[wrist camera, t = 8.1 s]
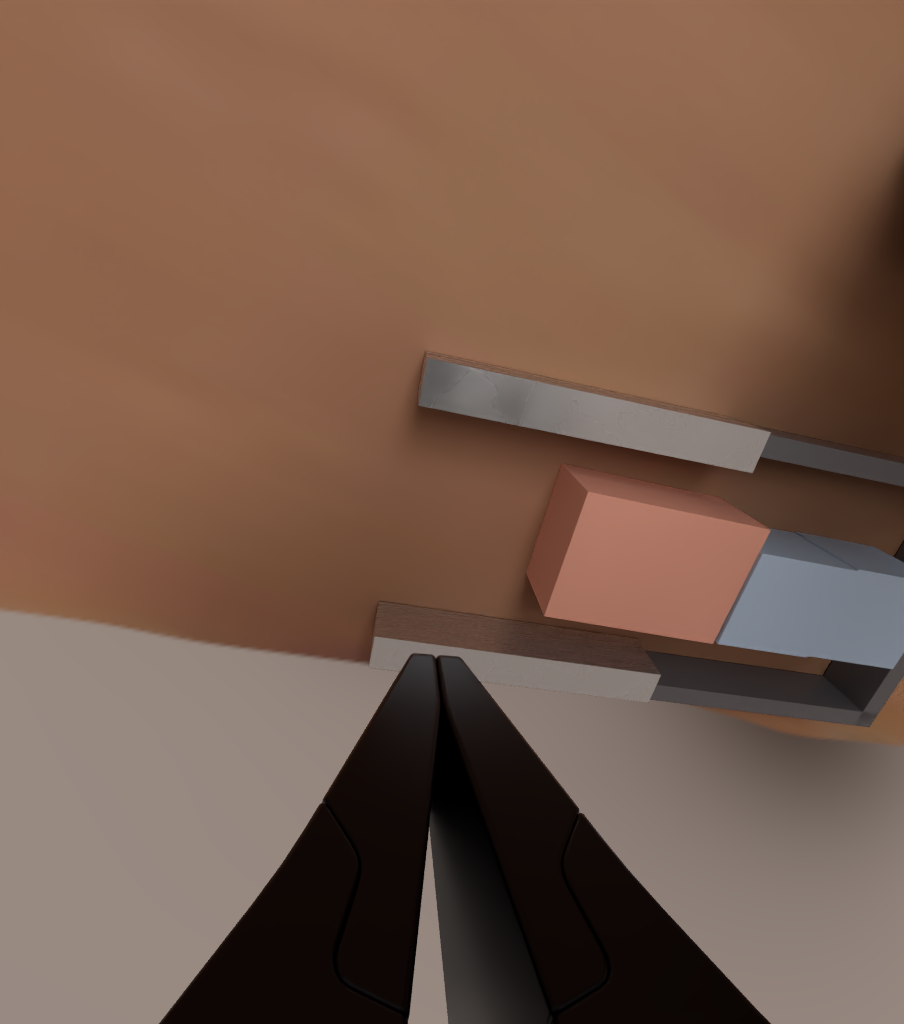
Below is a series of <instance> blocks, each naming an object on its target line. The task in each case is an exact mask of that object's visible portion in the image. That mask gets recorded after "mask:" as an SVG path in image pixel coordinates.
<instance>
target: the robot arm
mask: <svg viewBox="0 0 904 1024" xmlns="http://www.w3.org/2000/svg"><path fill="white" fill-rule="evenodd" d="M429 827H430V837H431V846H432V858H433V868H434V878H435V888H436V899H437V909H438V920H439V930H440V939H441V950H442V961H443V971H444V982H445V992H446V1002H447V1013H448V1023H449V1024H771V1023H770V1022H769V1021H768V1020H767V1019H766V1018H765V1017H764V1016H763V1015H762V1014H761V1013H760V1012H759V1011H758V1010H757V1009H756V1008H755V1007H754V1006H753V1005H752V1004H751V1003H750V1002H749V1000H747V998H746V997H745V996H744V995H743V994H742V993H741V992H740V991H739V990H738V989H737V988H736V987H735V986H734V984H733V983H732V982H731V981H730V980H729V979H728V978H727V977H726V976H725V975H724V974H723V973H722V971H721V970H720V969H719V968H718V967H717V966H716V965H715V964H714V963H713V962H712V961H711V960H710V959H709V958H708V956H707V955H706V954H705V953H704V952H703V951H702V950H701V949H700V948H699V947H698V946H697V945H696V944H695V942H694V941H693V940H692V939H691V938H690V937H689V936H688V935H687V934H686V933H685V932H684V931H683V930H682V929H681V927H680V926H679V925H678V924H677V923H676V922H675V921H674V920H673V919H672V918H671V917H670V916H669V915H668V914H667V912H666V911H665V910H664V909H663V908H662V907H661V906H660V905H659V904H658V903H657V902H656V900H655V899H654V898H653V897H652V896H651V895H650V893H649V892H648V891H647V890H646V889H645V888H644V887H643V886H642V885H641V883H639V881H638V880H637V879H636V878H635V877H634V876H633V875H632V873H631V872H630V871H629V870H628V869H627V868H626V866H625V865H624V864H623V863H622V861H621V860H620V859H619V858H618V857H617V855H616V854H615V853H614V852H613V851H612V849H611V848H610V847H609V846H608V845H607V843H606V842H605V841H604V840H603V838H602V837H601V836H600V835H599V834H598V832H597V831H596V829H595V828H594V827H593V826H592V824H591V823H590V822H589V821H588V819H587V818H586V817H585V815H584V814H582V813H579V808H578V807H577V805H576V804H575V803H574V802H573V800H572V799H571V798H570V797H569V795H568V794H567V793H566V791H565V790H564V789H563V788H562V786H561V785H560V784H559V783H558V781H557V780H556V779H555V777H554V776H553V775H552V773H551V772H550V771H549V770H548V768H547V767H546V766H545V764H544V763H543V762H542V761H541V759H540V758H539V757H538V755H537V754H536V753H535V752H534V750H533V749H532V748H531V747H530V745H529V744H528V743H527V741H526V740H525V739H524V738H523V736H522V735H521V734H520V732H519V731H518V730H517V729H516V727H515V726H514V725H513V724H512V722H511V721H510V720H509V719H508V717H507V716H506V714H505V713H504V712H503V711H502V709H501V708H500V707H499V706H498V704H497V703H496V702H495V700H494V699H493V698H492V697H491V695H490V694H489V693H488V691H487V690H486V689H485V688H484V686H483V685H482V684H481V682H480V681H479V680H478V679H477V677H476V676H475V675H474V673H473V672H472V671H471V670H470V668H469V667H468V666H467V665H466V663H465V662H464V661H463V659H462V658H460V657H458V656H447V655H438V656H437V657H436V658H435V656H434V655H432V654H420V653H413V654H411V655H410V656H409V658H408V659H407V661H406V663H405V664H404V666H403V667H402V669H401V671H400V673H399V674H398V676H397V678H396V679H395V681H394V682H393V684H392V686H391V687H390V689H389V691H388V692H387V694H386V696H385V697H384V699H383V701H382V702H381V704H380V706H379V707H378V709H377V711H376V713H375V714H374V716H373V717H372V719H371V721H370V722H369V724H368V726H367V727H366V729H365V730H364V732H363V734H362V735H361V737H360V739H359V740H358V742H357V744H356V746H355V747H354V749H353V750H352V752H351V754H350V755H349V757H348V759H347V760H346V762H345V764H344V765H343V767H342V769H341V770H340V772H339V774H338V775H337V777H336V779H335V780H334V782H333V784H332V785H331V787H330V788H329V790H328V792H327V793H326V795H325V797H324V799H323V802H322V803H321V804H320V805H319V806H318V808H317V810H316V811H315V813H314V814H313V816H312V818H311V819H310V821H309V823H308V824H307V826H306V828H305V829H304V831H303V832H302V834H301V835H300V837H299V838H298V840H297V842H296V843H295V845H294V846H293V848H292V849H291V851H290V852H289V854H288V855H287V857H286V859H285V860H284V861H283V863H282V864H281V866H280V867H279V868H278V870H277V871H276V873H275V874H274V875H273V877H272V878H271V879H270V881H269V882H268V883H267V885H266V886H265V887H264V889H263V890H262V892H261V893H260V894H259V896H258V897H257V898H256V900H255V901H254V902H253V904H252V905H251V907H250V908H249V909H248V910H247V912H246V913H245V915H243V917H242V918H241V919H240V920H239V922H238V923H237V924H236V926H235V927H234V928H233V930H232V931H231V932H230V933H229V935H228V936H227V937H226V938H225V940H224V941H223V942H222V944H221V945H220V946H219V948H218V949H217V950H216V951H215V953H214V954H213V955H212V956H211V958H210V959H209V960H208V962H207V963H206V964H205V965H204V967H203V968H202V969H201V971H200V972H199V973H198V974H197V976H196V977H195V978H194V980H193V981H192V982H191V983H190V985H189V986H188V987H187V989H186V990H185V991H184V992H183V994H182V995H181V996H180V998H179V999H178V1000H177V1001H176V1003H175V1004H174V1005H173V1007H172V1008H171V1009H170V1010H169V1012H168V1013H167V1014H166V1016H165V1017H164V1018H163V1019H162V1021H161V1022H160V1023H159V1024H408V1018H409V1013H410V1003H411V994H412V984H413V975H414V965H415V956H416V946H417V937H418V927H419V918H420V908H421V899H422V889H423V880H424V870H425V861H426V850H427V841H428V832H429Z"/></svg>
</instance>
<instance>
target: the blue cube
mask: <svg viewBox="0 0 904 1024" xmlns="http://www.w3.org/2000/svg"><path fill="white" fill-rule="evenodd" d="M767 528H768V527H767ZM769 529H770V530H771V531H770V533H769V535H768V537H767V539H766V541H765V543H764V545H763V547H762V549H761V551H760V553H759V555H758V556H757V558H756V560H755V562H754V564H753V566H752V568H751V570H750V572H749V574H748V576H747V578H746V580H745V582H744V584H743V586H742V588H741V590H740V592H739V594H738V596H737V598H736V600H735V602H734V604H733V606H732V608H731V610H730V612H729V614H728V615H727V617H726V619H725V621H724V623H723V625H722V627H721V629H720V631H719V633H718V635H717V637H716V639H715V642H716V643H717V644H721V645H727V646H734V647H740V648H747V649H754V650H760V651H767V652H773V653H780V654H786V655H793V656H800V657H806V658H807V657H808V655H809V654H810V652H811V650H812V648H813V647H814V645H815V643H816V642H817V640H818V638H819V637H820V635H821V633H822V631H823V630H824V628H825V626H826V625H827V623H828V621H829V619H830V618H831V616H832V614H833V613H834V611H835V609H836V608H837V606H838V604H839V602H840V601H841V599H842V597H843V596H844V594H845V592H846V590H847V589H848V587H849V585H850V584H851V582H852V580H853V579H854V577H855V575H856V573H857V572H858V571H857V570H855V569H853V568H852V567H850V566H848V565H847V564H845V563H844V562H842V561H840V560H839V559H837V558H835V557H834V556H832V555H830V554H829V553H827V552H825V551H824V550H822V549H820V548H819V547H817V546H816V545H814V544H812V543H811V542H809V541H807V540H806V539H804V538H802V537H801V536H799V535H797V534H796V533H793V532H788V531H783V530H778V529H773V528H769Z"/></svg>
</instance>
